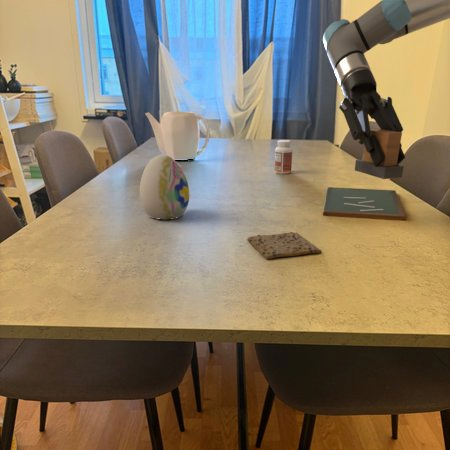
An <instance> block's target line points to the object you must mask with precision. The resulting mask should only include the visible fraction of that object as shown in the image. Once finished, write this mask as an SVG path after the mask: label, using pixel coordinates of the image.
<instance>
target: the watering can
mask: <svg viewBox="0 0 450 450" xmlns="http://www.w3.org/2000/svg"><path fill="white" fill-rule="evenodd" d="M144 115H145V116H146V117H147V119H148V121H149V123H150V125H151V128H152V131H153V134H154V138H155V142H156V144H157V147H158V150H159V151H160V152H161V153H163V154H164V155H167V156H170V157H171V158H173V159H194V158H195V159H196V158H197V157H198V156H199V155H201V154H202V153H203V152H204V151H205V150H206V149H207V147H208V145H209V142H210V138H211V137H210V135H211V134H210V127H209V124H208V121H207V119H206V118H205V117H204V116H203V115H201V114H199V113H198V114H196V113H195V112H194V111H188V110H181V111H180V110H178V111H177V110H175V111H166V112H163V114H162V116H161V120H160V123H159V121H158V120H157V119H156V118H155V117H154V115H153V114H151V113H150V111H147V112H144ZM200 120H202V122H203V123H204V125H205V129H206V136H205V140H204V144H203V145H202V147H201V149H199V144H200V135H201V134H200V133H201V131H200V130H201V129H200V124H199V121H200ZM195 159H194V160H195Z"/></svg>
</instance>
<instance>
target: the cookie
mask: <svg viewBox="0 0 450 450" xmlns="http://www.w3.org/2000/svg"><path fill="white" fill-rule="evenodd" d="M246 238H247V239H246V240H247V242H248V243H249V244H250V245H251V246H252V247H253V248H254V249H255V250H256V251H257V252H259V253H260V255H261V256H263V258H264V259H266V260H271V259H276V258H281V257H295V256H303V255H308V254H322V253H323V252H322V249H320V247H318V246H316V245H315V244H314V243H312V242H311V241H309V240H307V239H306V238H305V237H303V236H302V235H301V234H299V233H298V232H293V231H290V232H281V233H275V234H257V235H253V236H248V237H246Z"/></svg>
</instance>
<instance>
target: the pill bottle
mask: <svg viewBox="0 0 450 450" xmlns="http://www.w3.org/2000/svg"><path fill="white" fill-rule="evenodd" d="M291 144H292V142H291V140H290V139H279V140H277V146H276V148H275V149H274V168H273V169H274V173H275V174H277V175H278V174H280V175H284V174H285V175H286V174H291V172H292V165H293V164H292V162H293V148H292V147H291Z"/></svg>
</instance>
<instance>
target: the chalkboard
mask: <svg viewBox="0 0 450 450" xmlns="http://www.w3.org/2000/svg"><path fill="white" fill-rule="evenodd" d="M322 216H327V217H343V218H357V219H375V220H390V221H407V215H406V212H405V210H404V207H403V205H402V203H401V201H400V198H399V195H398V193H397V192H396V190H395V189H393V190H392V189H375V188H373V189H372V188H353V187H334V186H333V187H331V186H330V187H329V186H327V187H326V193H325V199H324V203H323V210H322Z"/></svg>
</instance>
